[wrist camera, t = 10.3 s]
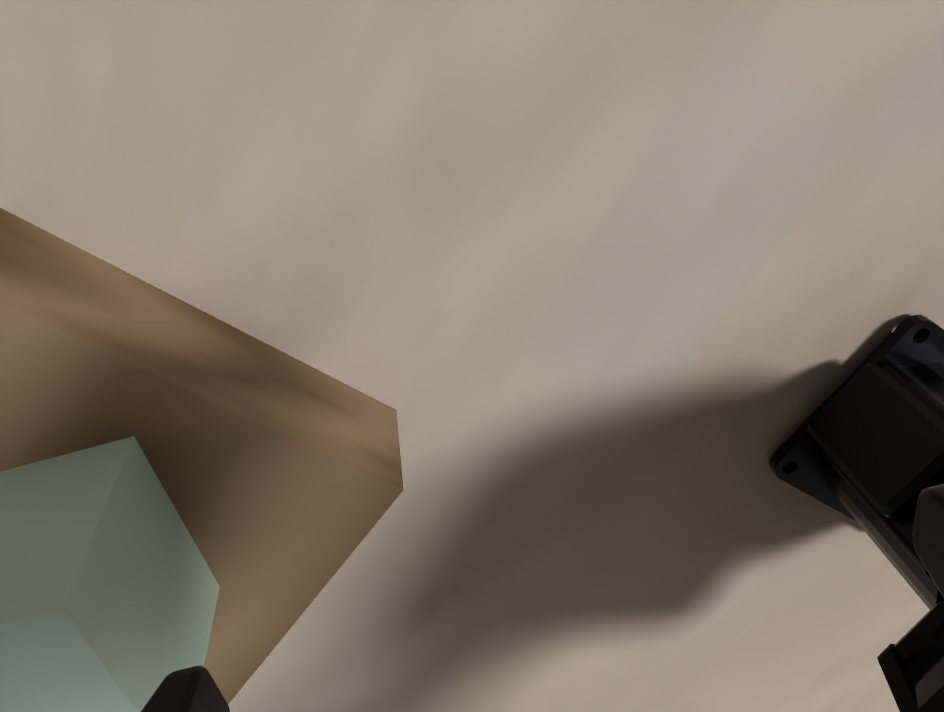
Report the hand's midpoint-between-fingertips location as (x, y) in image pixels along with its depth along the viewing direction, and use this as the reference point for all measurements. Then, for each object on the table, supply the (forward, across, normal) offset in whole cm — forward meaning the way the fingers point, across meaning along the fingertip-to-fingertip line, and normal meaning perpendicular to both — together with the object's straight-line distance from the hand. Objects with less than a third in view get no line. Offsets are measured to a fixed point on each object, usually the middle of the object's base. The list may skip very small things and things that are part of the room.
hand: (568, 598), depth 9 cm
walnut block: (+12, +10, +4) cm, 17 cm away
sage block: (+8, +11, +4) cm, 14 cm away
